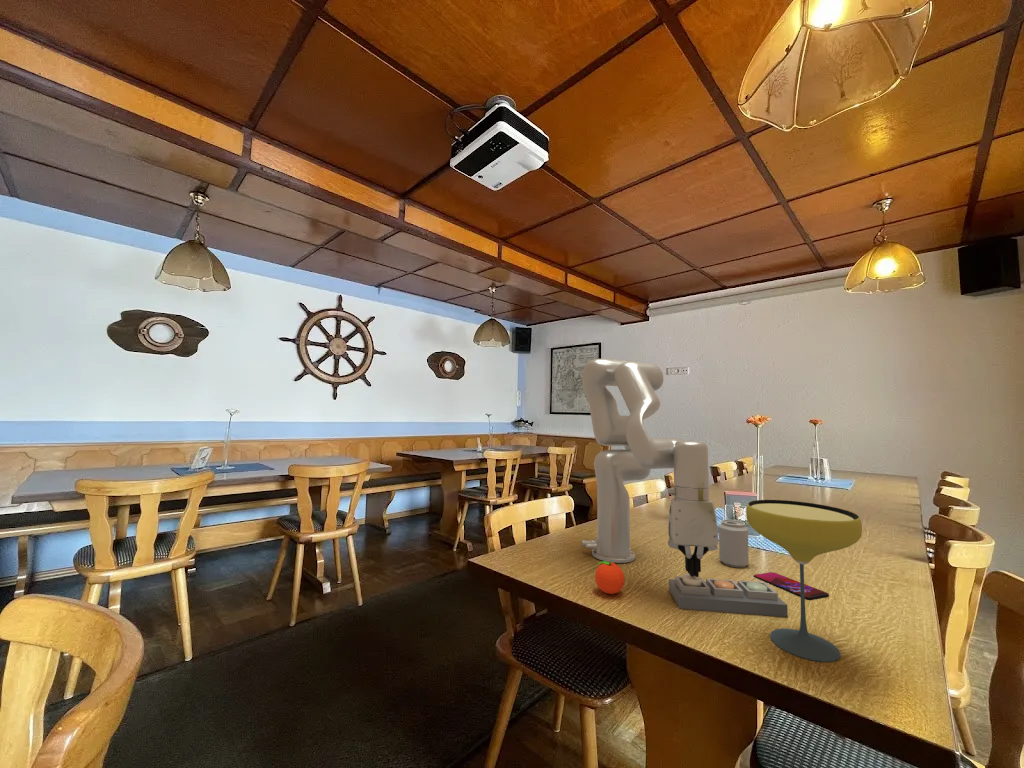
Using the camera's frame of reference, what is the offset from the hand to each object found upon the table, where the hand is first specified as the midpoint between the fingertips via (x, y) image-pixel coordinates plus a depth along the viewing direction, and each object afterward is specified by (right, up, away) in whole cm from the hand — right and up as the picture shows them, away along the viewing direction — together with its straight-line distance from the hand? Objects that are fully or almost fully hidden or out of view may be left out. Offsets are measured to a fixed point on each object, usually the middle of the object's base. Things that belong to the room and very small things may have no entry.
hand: (693, 574), depth 96 cm
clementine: (-19, -6, +3) cm, 20 cm away
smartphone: (+28, -8, +9) cm, 31 cm away
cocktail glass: (+13, -5, -18) cm, 23 cm away
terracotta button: (+7, -3, -1) cm, 8 cm away
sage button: (+14, -3, -2) cm, 14 cm away
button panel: (+7, -6, -1) cm, 9 cm away
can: (+22, -8, +24) cm, 34 cm away
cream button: (0, -2, 0) cm, 2 cm away
